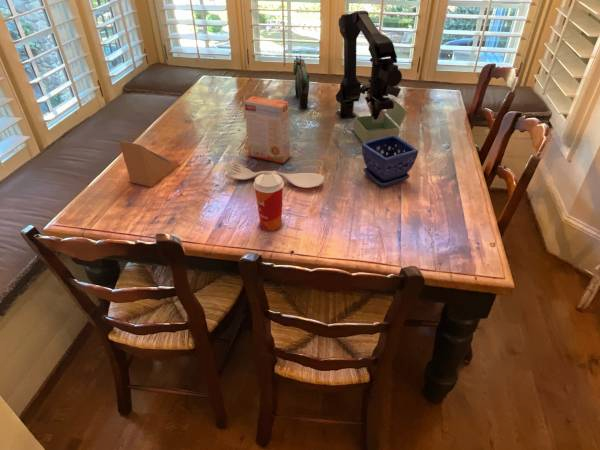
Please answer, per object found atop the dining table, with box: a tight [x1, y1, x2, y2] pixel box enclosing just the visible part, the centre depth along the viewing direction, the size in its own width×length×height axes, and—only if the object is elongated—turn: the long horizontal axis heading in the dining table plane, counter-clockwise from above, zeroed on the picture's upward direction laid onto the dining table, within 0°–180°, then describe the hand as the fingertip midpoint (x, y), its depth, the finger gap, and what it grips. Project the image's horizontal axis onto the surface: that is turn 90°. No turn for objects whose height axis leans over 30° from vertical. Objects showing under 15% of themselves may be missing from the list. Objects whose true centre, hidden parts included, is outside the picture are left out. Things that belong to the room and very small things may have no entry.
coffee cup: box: [253, 173, 285, 232], centre depth 121 cm, size 8×8×15 cm
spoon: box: [224, 162, 325, 189], centre depth 143 cm, size 9×32×3 cm, turn 79°
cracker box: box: [244, 95, 291, 164], centre depth 151 cm, size 14×6×21 cm, turn 65°
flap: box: [384, 97, 408, 128], centre depth 166 cm, size 14×6×1 cm
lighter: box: [366, 102, 386, 123], centre depth 164 cm, size 7×2×8 cm, turn 103°
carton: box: [353, 113, 400, 143], centre depth 168 cm, size 14×13×6 cm
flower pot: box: [361, 135, 419, 188], centre depth 142 cm, size 13×13×12 cm
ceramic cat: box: [292, 55, 310, 111], centre depth 193 cm, size 20×6×20 cm, turn 6°
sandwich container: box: [119, 140, 179, 188], centre depth 144 cm, size 9×15×15 cm, turn 158°
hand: (374, 118), depth 165 cm, fingers closed on lighter, 2 cm apart
